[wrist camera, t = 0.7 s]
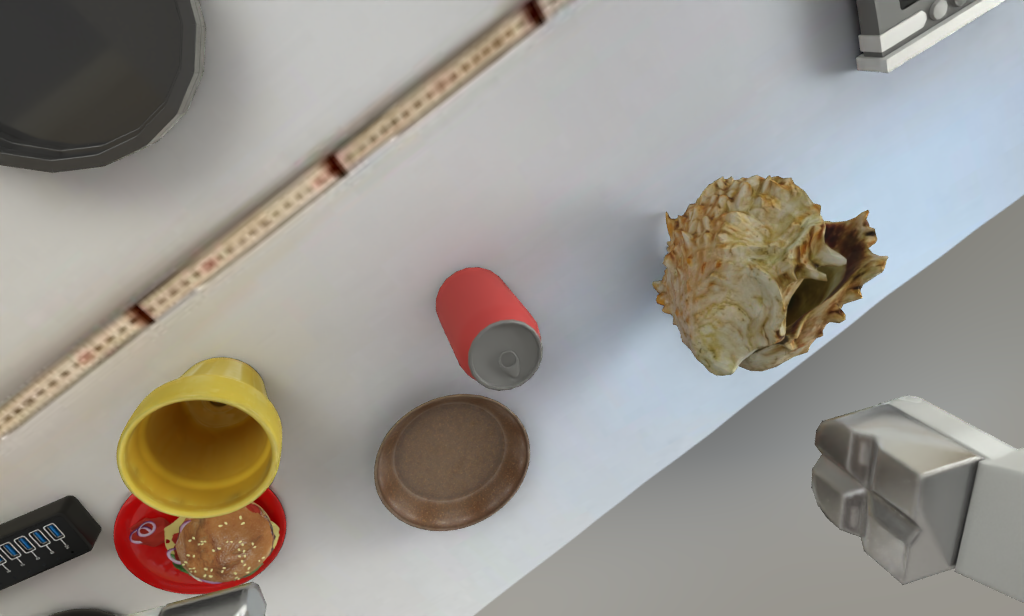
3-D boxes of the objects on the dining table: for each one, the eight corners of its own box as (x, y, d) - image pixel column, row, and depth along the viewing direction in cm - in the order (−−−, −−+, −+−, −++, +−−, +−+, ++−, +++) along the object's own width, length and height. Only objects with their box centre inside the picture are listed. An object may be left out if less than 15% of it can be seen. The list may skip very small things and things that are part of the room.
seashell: (968, 254, 43) (827, 127, 39) (801, 442, 47) (656, 343, 43) (819, 213, 60) (710, 121, 56) (705, 353, 64) (594, 277, 60)
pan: (-206, -155, 34) (-270, -181, 30) (157, -162, 38) (139, -187, 34) (-54, 180, 41) (-90, 191, 37) (238, 144, 45) (230, 150, 41)
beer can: (454, 347, 55) (485, 412, 45) (421, 287, 53) (445, 342, 42) (517, 312, 56) (563, 369, 45) (487, 251, 53) (528, 297, 42)
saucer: (453, 352, 56) (458, 365, 53) (551, 439, 62) (560, 454, 60) (338, 461, 56) (338, 479, 54) (447, 536, 63) (452, 555, 60)
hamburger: (206, 434, 52) (192, 476, 47) (318, 525, 58) (317, 571, 53) (75, 534, 52) (46, 587, 46) (201, 614, 58) (188, 670, 53)
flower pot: (195, 465, 53) (168, 543, 44) (125, 369, 48) (80, 435, 39) (309, 415, 54) (305, 482, 45) (251, 316, 50) (234, 369, 41)
